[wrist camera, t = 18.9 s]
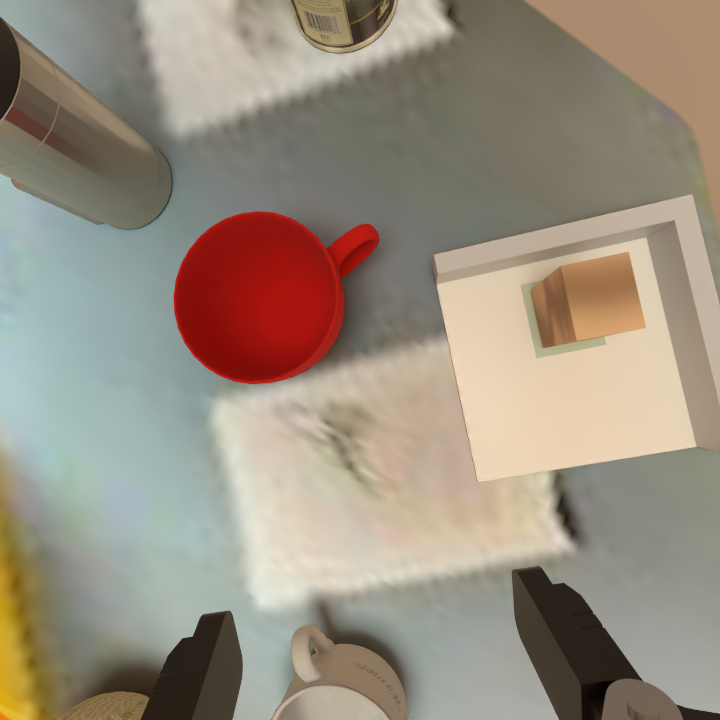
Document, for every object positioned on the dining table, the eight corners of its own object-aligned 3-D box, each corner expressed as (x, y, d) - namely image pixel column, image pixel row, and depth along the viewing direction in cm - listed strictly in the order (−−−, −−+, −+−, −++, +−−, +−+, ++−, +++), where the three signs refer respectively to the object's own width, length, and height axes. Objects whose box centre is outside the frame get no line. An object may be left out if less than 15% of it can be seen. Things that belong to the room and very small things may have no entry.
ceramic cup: (421, 312, 42) (420, 293, 32) (270, 407, 43) (224, 417, 33) (349, 198, 43) (326, 146, 33) (205, 294, 45) (143, 272, 35)
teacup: (421, 741, 40) (420, 830, 32) (305, 751, 42) (278, 840, 34) (390, 584, 41) (381, 634, 33) (278, 600, 43) (244, 651, 35)
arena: (477, 480, 40) (484, 495, 35) (432, 268, 42) (433, 254, 37) (712, 442, 38) (756, 452, 33) (658, 217, 39) (692, 194, 34)
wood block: (597, 337, 39) (649, 327, 30) (542, 348, 39) (576, 340, 30) (584, 279, 39) (631, 250, 30) (530, 290, 40) (560, 266, 31)
